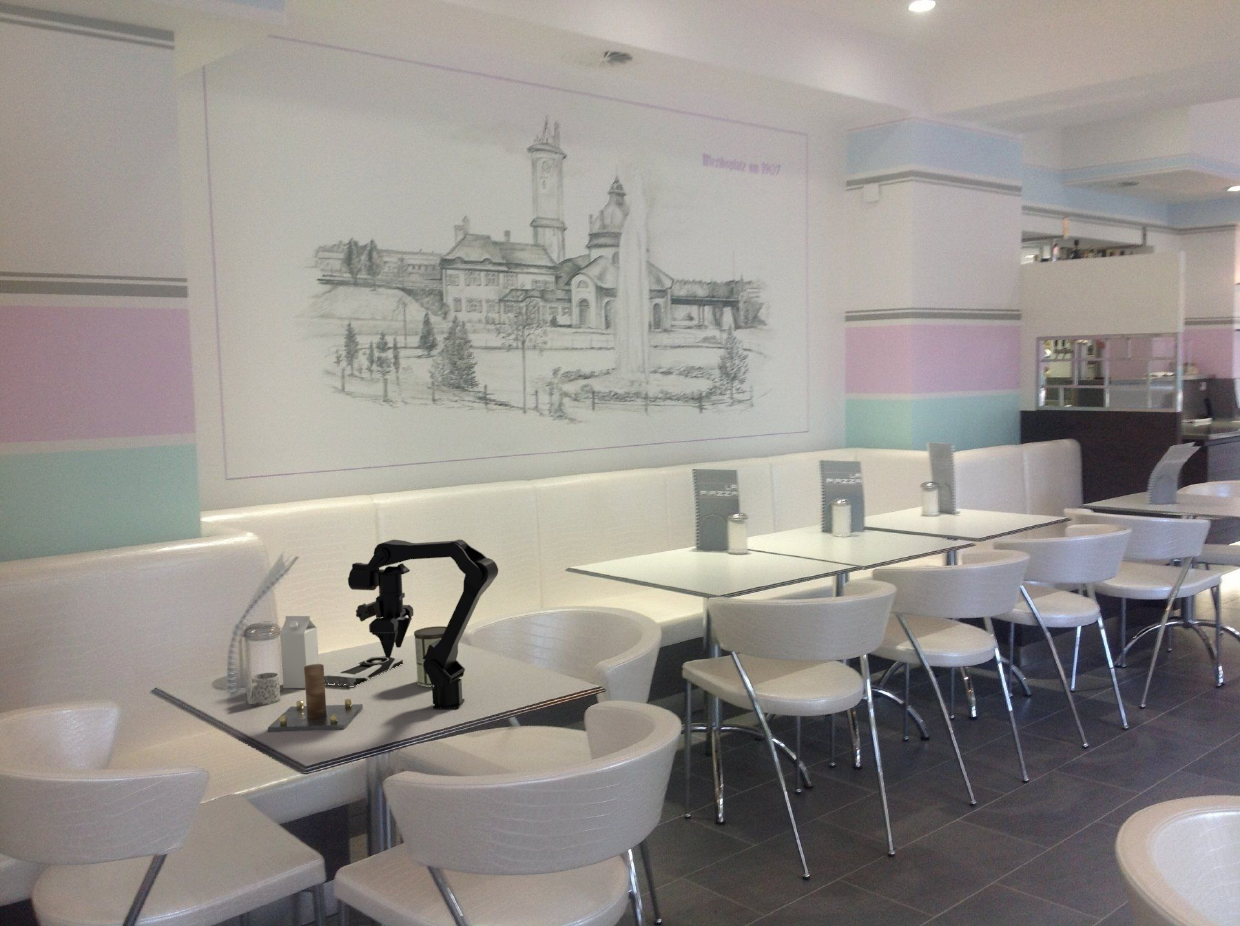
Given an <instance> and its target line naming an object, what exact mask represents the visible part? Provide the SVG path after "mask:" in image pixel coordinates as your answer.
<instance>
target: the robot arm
mask: <svg viewBox="0 0 1240 926" xmlns="http://www.w3.org/2000/svg"><path fill="white" fill-rule="evenodd" d="M373 550H374V551H373V556H371V558H370V559H369V562H368V563H362V562H354V563H352V564H351V569H350V571H349V575H348V578H347V581H348V582H347V583H348V586H349V588H350V590H357V591H375V590H376V589H377V588H378V595H377V597H376V598H375V600H374V601H372V602H369V603H365V602H364V603H362V604H359V605H358V606H357V607H356V608H357V609H356V610H355V613H356V614H355V616H356V618H359V621H360V622H361V623H362V622H364V621H366V620H367V619H370V618H372V617H375V619H373V620H372V621H371V622H370V623H369V624H368V630H369V631H368V632H369V633H371V635H373V636H375V637H377V638H378V639H379V641H380V644H381V646H382V647H381V648H382V651H383V653H384V656H386V657H390V656H392V653H393V650H394V646H395V647H396V648H398V649H399V648H401V647H402V645H403V642H404V640H405V637H406V633H407V631H408V628H409V627H410V623H411V622H412V620H413V618H412V617H413V616H414V607H413V606H411V604H404V598H405V597H406V595H405V594H406V593H405V592H403V579H402V578H403V575H404V574H408V573H409V572H410V569H409V567H407V566H405V564H404V563H403V562H406V561H409V560H422V559H437V558H438V559H440V558H451V559H452V560H453V561H454V563H455V564H456V566H457V567H458V569H459V570H460V571H461V572H462V573H463V574H464V578H463V590H462V593H461V595H460V598H459V599H458V602H457V604H456V606H455V608H454V610H453V612H452V614H451V616H450V619H449V621H448V623H447V625H446V626H445V627H446V629H445V632H444V634H443V636H442V638H441V640H440V639H439V640H437V641H435V642H433V643H432V644H430V645H429V647H428V649H427V653H426V655H425V656H424V657H423V658H422V659H425V660H424V663H423V668H424V670H425V672H426V673H427V675H428V676H429V679H430V681H431V684H432V685H434V687H431V688H432V689H431V693H432V695H431V697H432V704H433V706H432V709H434V710H439V709H440V710H441V709H443V710H447V709H448V710H449V709H459V708H460V707H461V706H462V705H463V703H464V702H465V698H463V685H462V681H463V680H462V677H464V674H465V671H466V669H465V667H464V666H463V665H462V664H461V663H460V662H459V661H458V659H457V658H458V653H459V643H460V641H461V638H462V637H463V635H464V632H465V630H466V627H467V626H468V624H469V622H470V619H471V618H472V615H473V613H474V611H475V609H476V606H477V605H478V602H479V600H480V599H481V596H482V595H483V594H484V593H485V592H486V591H487V589H488V588H489V587H490V586H491V585H492V583H493V582H494V580H495V579H496V578H497V576H498V574H499V567H498V564H497V563H496V562H495V561H494V560H493V559H492V558H488V557H487V556H486V555H484V553H482V552H481V551H479V550H477V549H475V548H474V547H472V546H471V545H470V544H468V542H466V541H465V540H464V539H456V540H446V541H445V540H444V541H428V542H427V541H426V542H410V541H407V540H400V539H390V540H388V541H384V542H381V543H378V544H377V545H376V546H375V547H374V549H373ZM394 564H398V565H397V566H395V565H394ZM391 565H393V566H391ZM383 567H385V568H384V569H383ZM381 568H382V569H381ZM446 708H447V709H446Z"/></svg>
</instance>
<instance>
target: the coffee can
mask: <svg viewBox="0 0 1240 926" xmlns="http://www.w3.org/2000/svg"><path fill="white" fill-rule="evenodd" d="M446 627H447V626H445V625H444V626H443V625H442V626H439V625H438V626H428V627H422V628H418V629H416V630H415V631H414V632H413V636H414V647H415V660H416V661H415V662H416V677H417V679H416V681H417V683H418V684H419V685H421V686H420V687H422V686H434V685H432V684H431V681H430V679H429V676H428V675H427V673H426V672H425V670H424V668H423V663H424V660H425V659H422V658H423V657H424V656H425V655H426V653H427V649H428V647H429V645H430V644H432V643H433V642H435V641H437V640H439V639H440V640H441V638H442V636H443V634H444V632H445V629H446ZM418 684H417V685H418ZM419 685H418V686H419Z"/></svg>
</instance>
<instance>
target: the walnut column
mask: <svg viewBox="0 0 1240 926" xmlns="http://www.w3.org/2000/svg"><path fill="white" fill-rule="evenodd" d="M304 674H305V688H304V689H305V703H306V705H305V706H307V717H308V718H320V717H324V716H326V705H327V701H326V685H325V680H324V676H325V667H324V664H322V663H319V664H312V665H308V666H305V667H304Z"/></svg>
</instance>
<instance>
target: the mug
mask: <svg viewBox="0 0 1240 926" xmlns="http://www.w3.org/2000/svg"><path fill="white" fill-rule="evenodd" d="M246 699H247V703H248V704H249V705H256V706H268V705H273V704H277V703H279V702H280V701H281V688H280V675H279V673H278V672H263V673H258V674H255V675H253V676H251V684H250V685H248V687H246Z"/></svg>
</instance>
